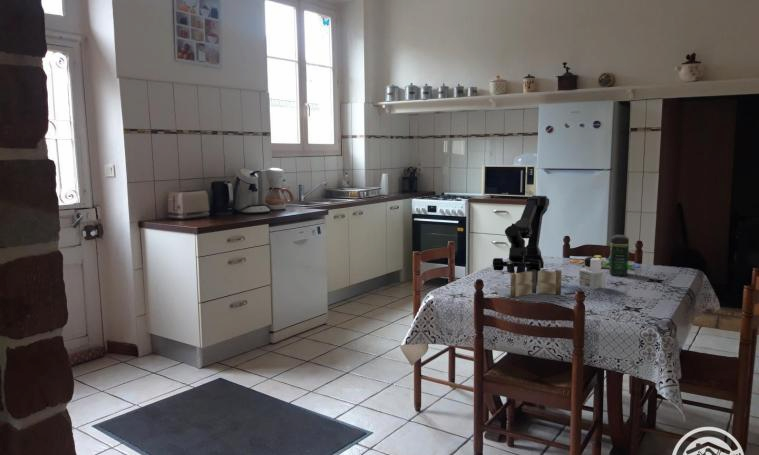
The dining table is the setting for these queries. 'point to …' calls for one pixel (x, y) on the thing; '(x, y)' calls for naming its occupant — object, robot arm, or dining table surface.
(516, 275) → the hinged fence panel
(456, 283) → the dining table surface
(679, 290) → the dining table surface
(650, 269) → the dining table surface
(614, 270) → the coffee jar
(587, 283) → the container
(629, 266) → the shape sorter
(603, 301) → the dining table surface
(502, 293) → the card
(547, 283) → the fixed fence section
